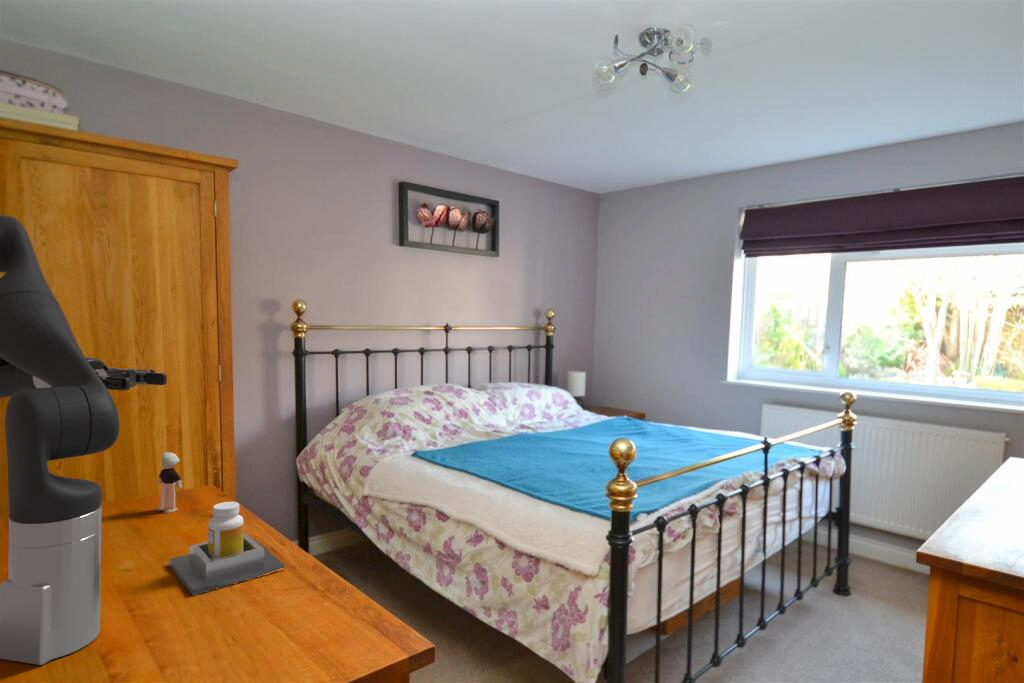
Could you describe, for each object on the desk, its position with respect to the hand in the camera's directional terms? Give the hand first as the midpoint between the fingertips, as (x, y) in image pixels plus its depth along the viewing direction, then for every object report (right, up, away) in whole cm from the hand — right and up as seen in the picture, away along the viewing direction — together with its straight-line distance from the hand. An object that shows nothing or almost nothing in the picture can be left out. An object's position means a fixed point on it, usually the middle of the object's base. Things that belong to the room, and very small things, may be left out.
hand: (147, 381), depth 103 cm
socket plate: (+19, -31, -8) cm, 37 cm away
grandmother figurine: (-7, -29, +17) cm, 35 cm away
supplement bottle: (+19, -30, -8) cm, 36 cm away
